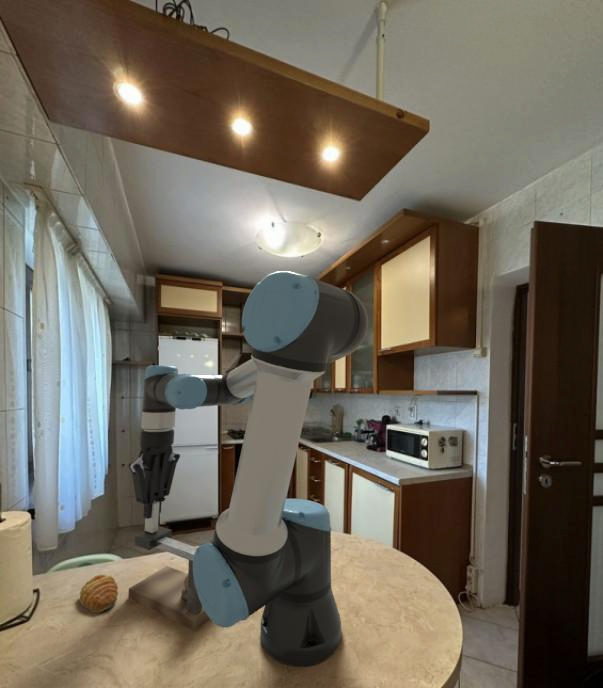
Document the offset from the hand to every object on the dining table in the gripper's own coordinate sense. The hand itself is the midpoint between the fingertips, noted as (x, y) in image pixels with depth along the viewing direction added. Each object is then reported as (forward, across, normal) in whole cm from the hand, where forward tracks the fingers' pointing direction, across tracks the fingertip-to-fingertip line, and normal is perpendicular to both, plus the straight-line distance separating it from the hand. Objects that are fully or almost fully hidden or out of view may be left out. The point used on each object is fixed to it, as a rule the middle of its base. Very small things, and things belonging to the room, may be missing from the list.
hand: (151, 530), depth 77 cm
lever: (+3, 0, +9) cm, 9 cm away
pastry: (+13, +8, -5) cm, 16 cm away
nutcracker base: (+12, 0, +10) cm, 16 cm away
